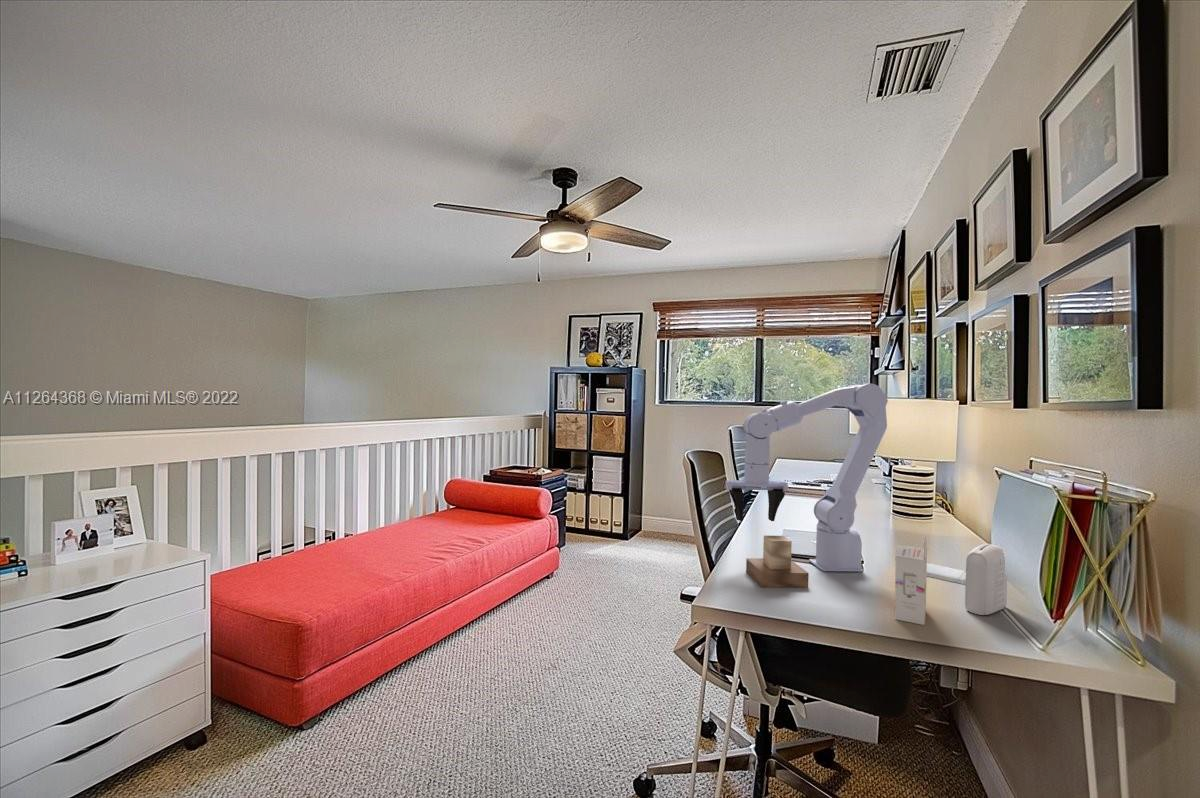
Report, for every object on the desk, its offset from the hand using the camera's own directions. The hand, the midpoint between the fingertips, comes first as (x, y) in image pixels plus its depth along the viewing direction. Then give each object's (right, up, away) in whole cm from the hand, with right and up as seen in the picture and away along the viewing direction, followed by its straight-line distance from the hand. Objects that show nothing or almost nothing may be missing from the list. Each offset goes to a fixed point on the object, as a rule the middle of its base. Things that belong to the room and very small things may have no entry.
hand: (755, 520), depth 128 cm
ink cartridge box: (+20, -11, -29) cm, 37 cm away
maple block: (+1, -8, -11) cm, 13 cm away
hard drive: (+41, -12, -4) cm, 43 cm away
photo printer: (+37, -12, -25) cm, 46 cm away
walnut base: (+1, -11, -11) cm, 15 cm away
